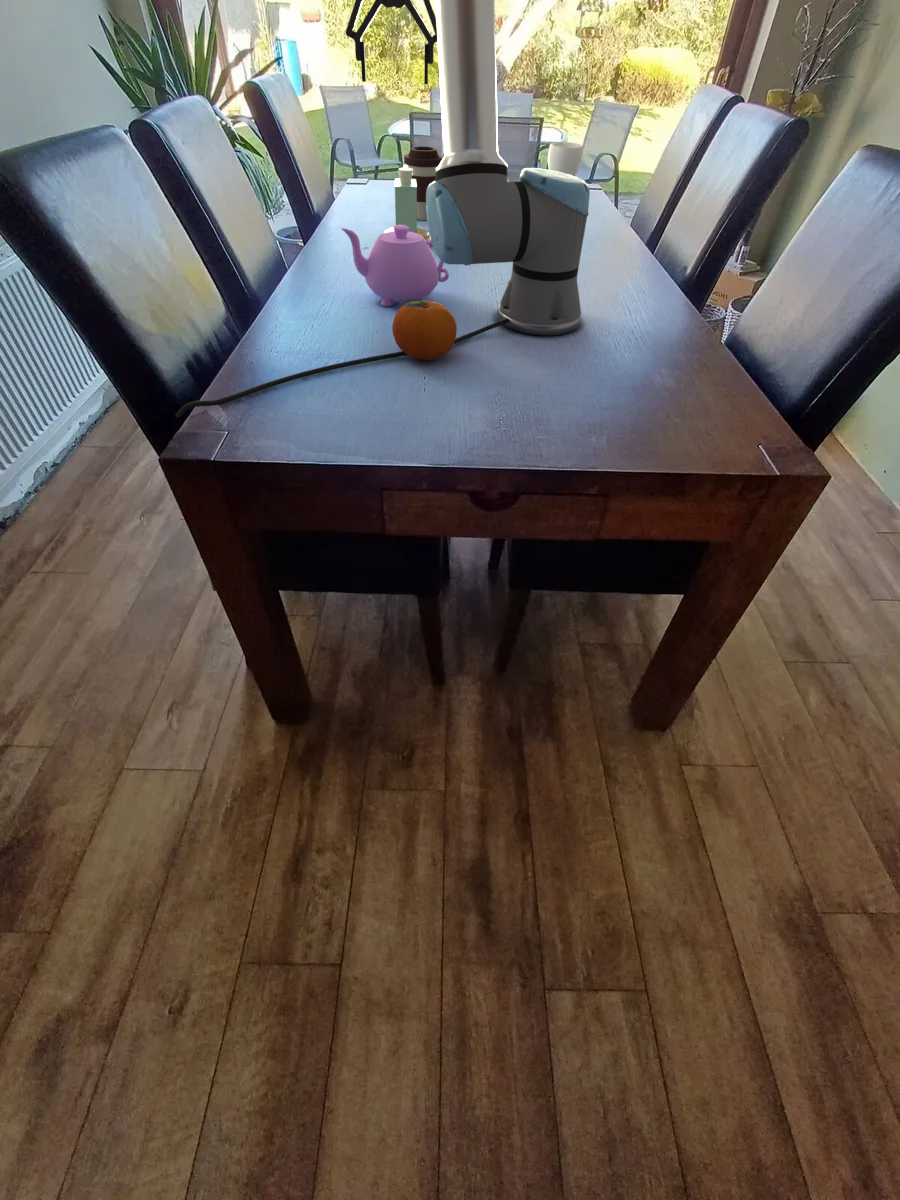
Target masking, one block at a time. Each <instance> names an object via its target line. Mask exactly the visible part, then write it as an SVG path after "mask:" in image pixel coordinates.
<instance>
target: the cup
mask: <svg viewBox="0 0 900 1200" xmlns="http://www.w3.org/2000/svg"><path fill="white" fill-rule="evenodd" d="M583 156H584V146H583V145H582V144H580V143H577V142H570V141H554V142H551V143H550V144H549V147H548V152H547V166H548V167H547V168H548V170H552V171H557V172H561V173H565V174H568V175H571V176H574V177H577V174H578V172H579V170H580V168H581V164H582V161H583Z"/></svg>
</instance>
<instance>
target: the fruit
mask: <svg viewBox="0 0 900 1200" xmlns="http://www.w3.org/2000/svg"><path fill="white" fill-rule="evenodd" d="M391 329H392V336H393V339H394V341H395V343H396V345H397V346H398V349H400V351H403V352H404V353H406V354H407V356H409V357H412V358H415V359H418V360H421V361H422V360H424V361H431V360H436V359H439V358H441V357H443V356H445V355H446V354H447V353H449V351H451V349H452V348H453V347H454V345H455V344H454V342H455V339H456V338H457V333H458V332H457V329H458V326H457V321H456V318H455V316H454V315H453V313H452V312H451V311H450V309H449V308H448V307H447V306H446V305H444V304H443V303H440V302H435V301H432V300H425V299H424V300H423V301H412V300H411V301H409V302H407V303H405V304H404V305H402V306H401V307H400V308H399V309H398V310H397V311H396V312H395V316H394V317H393V321H392V328H391Z"/></svg>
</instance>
